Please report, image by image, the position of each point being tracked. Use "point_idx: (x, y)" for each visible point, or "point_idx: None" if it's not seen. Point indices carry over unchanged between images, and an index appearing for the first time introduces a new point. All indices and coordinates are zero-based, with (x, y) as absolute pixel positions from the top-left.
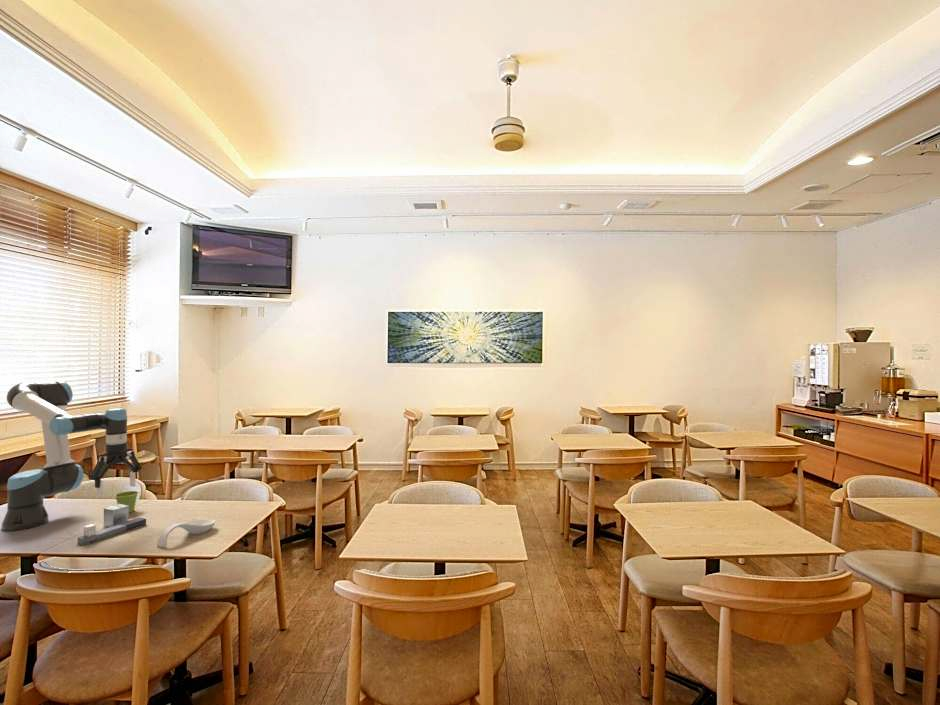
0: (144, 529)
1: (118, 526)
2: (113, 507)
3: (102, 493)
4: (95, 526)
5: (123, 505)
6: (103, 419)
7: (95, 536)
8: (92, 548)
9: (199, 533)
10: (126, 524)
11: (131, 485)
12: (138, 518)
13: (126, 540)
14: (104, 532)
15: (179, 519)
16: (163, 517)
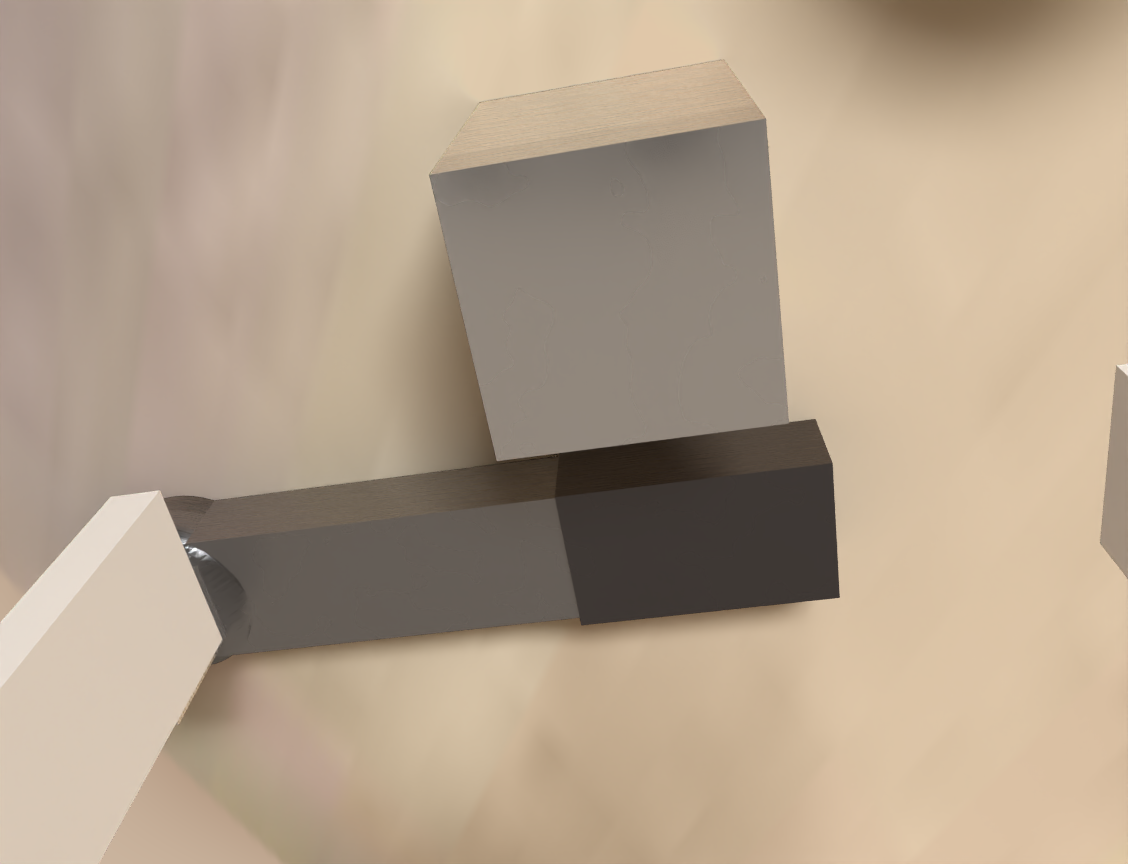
0: (718, 671)
1: (498, 575)
2: (571, 292)
3: (199, 669)
4: (184, 709)
5: (744, 326)
6: None
7: (222, 656)
8: (188, 744)
9: None
10: (583, 604)
11: (1125, 457)
12: (795, 507)
13: (462, 799)
14: (317, 639)
15: (1125, 689)
16: None
